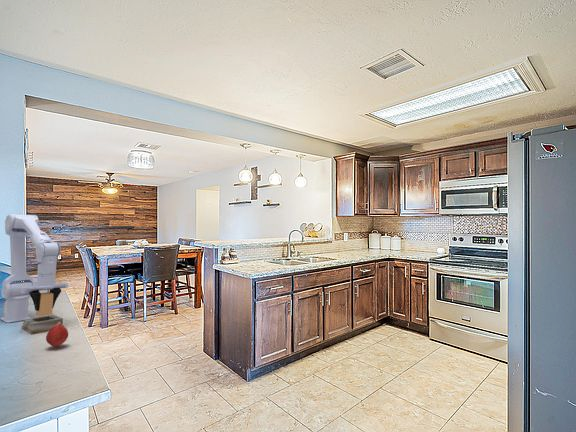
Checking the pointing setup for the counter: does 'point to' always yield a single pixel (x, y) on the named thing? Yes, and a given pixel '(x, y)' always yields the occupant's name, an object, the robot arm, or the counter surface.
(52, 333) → the onion
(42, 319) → the socket block
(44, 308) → the peg
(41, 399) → the counter surface
